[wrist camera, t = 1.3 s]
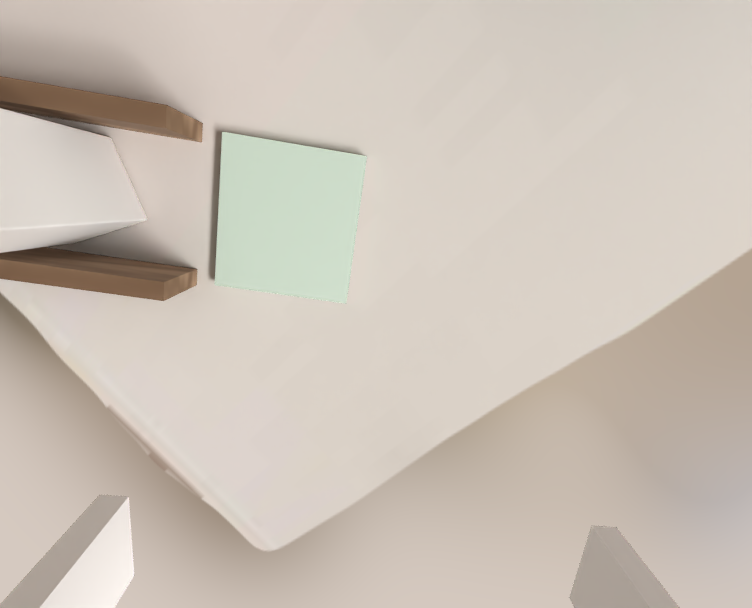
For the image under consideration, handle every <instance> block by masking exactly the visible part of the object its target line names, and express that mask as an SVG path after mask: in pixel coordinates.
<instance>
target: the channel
mask: <svg viewBox="0 0 752 608" xmlns="http://www.w3.org/2000/svg"><path fill="white" fill-rule="evenodd" d="M0 108H2V109H6V110H12V111H18V112H24V113H30V114H36V115H42V116H48V117H54V118H60V119H66V120H71V121H77V122H83V123H89V124H95V125H101V126H107V127H113V128H119V129H125V130H131V131H137V132H143V133H149V134H155V135H161V136H167V137H173V138H179V139H185V140H191V141H197V142H202V125H203V123H201V122H199V121H197V120H195V119H193V118H191V117H189V116H187V115H185V114H183V113H181V112H179V111H177V110H175V109H173V108H171V107H169V106H167V105H164V104H158V103H152V102H146V101H140V100H135V99H129V98H123V97H117V96H111V95H106V94H100V93H94V92H88V91H83V90H77V89H71V88H65V87H59V86H54V85H48V84H42V83H36V82H30V81H25V80H19V79H13V78H7V77H2V76H0ZM0 279H7V280H14V281H22V282H29V283H36V284H44V285H51V286H58V287H66V288H73V289H80V290H88V291H95V292H102V293H109V294H117V295H124V296H131V297H139V298H146V299H153V300H161V301H164V300H167V299H169V298H171V297H173V296H175V295H177V294H179V293H181V292H183V291H185V290H187V289H189V288H191V287H193V286H196V285H197V269H192V268H185V267H178V266H171V265H164V264H157V263H150V262H143V261H137V260H130V259H123V258H116V257H109V256H102V255H95V254H88V253H81V252H74V251H67V250H60V249H53V248H46V247H40V248H33V249H25V250H18V251H10V252H3V253H0Z"/></svg>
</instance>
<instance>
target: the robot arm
mask: <svg viewBox="0 0 752 608" xmlns="http://www.w3.org/2000/svg"><path fill="white" fill-rule="evenodd" d="M133 577H134V565H133V550H132V537H131V521H130V507H129V497H128V496H112V495H99V496H98V497H97V498H96V499H95V500H94V501H93V503H92V504H91V505H90V506H89V507H88V508H87V509H86V510H85V511H84V512H83V514H82V515H81V516H80V517H79V518H78V519H77V520H76V522H75V523H73V525H72V526H71V527H70V528H69V529H68V530H67V531H66V532H65V534H63V536H62V537H61V538H60V539H59V540H58V541H57V542H56V543H55V544H54V545H53V547H52V548H51V549H50V550H49V551H48V552H47V553H46V554H45V556H44V557H43V558H42V559H41V560H40V561H39V562H38V563H37V564H36V565H35V566H34V568H33V569H32V570H31V571H30V572H29V573H28V574H27V575H26V576H25V577H24V579H23V580H22V581H21V582H20V583H19V584H18V585H17V586H16V587H15V588H14V590H13V591H12V592H11V593H10V594H9V595H8V596H7V597H6V598H5V599H4V601H3V602H2V603H1V604H0V608H115V606H116V604H117V603H118V601H119V600H120V598H121V596H122V595H123V593H124V591H125V590H126V588H127V586H128V585H129V583H130V582H131V580H132V578H133ZM570 600H571V602H572V604H573V606H574V608H679V606H678V605H677V604H676V602H675V601H674V600H673V599H672V597H671V596H670V595H669V594H668V592H667V591H666V590H665V588H664V587H663V586H662V585H661V583H660V582H659V581H658V580H657V578H656V577H655V576H654V574H653V573H652V572H651V571H650V569H649V568H648V567H647V565H646V564H645V563H644V562H643V560H642V559H641V558H640V557H639V555H638V554H637V553H636V552H635V550H634V549H633V548H632V546H631V545H630V544H629V543H628V541H627V540H626V539H625V537H624V536H623V535H622V534H621V532H620V531H619V530H618V528H617V527H605V526H591V529H590V532H589V535H588V539H587V542H586V545H585V548H584V552H583V555H582V558H581V562H580V565H579V568H578V571H577V574H576V578H575V581H574V584H573V587H572V591H571V594H570Z"/></svg>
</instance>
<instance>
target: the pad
mask: <svg viewBox="0 0 752 608" xmlns="http://www.w3.org/2000/svg"><path fill="white" fill-rule="evenodd" d="M366 159H367V156H363V155H357V154H352V153H346V152H340V151H334V150H328V149H322V148H316V147H310V146H304V145H298V144H293V143H287V142H281V141H275V140H269V139H263V138H257V137H251V136H245V135H240V134H234V133H228V132H222V145H221V166H220V186H219V206H218V227H217V247H216V267H215V285H218V286H225V287H232V288H239V289H246V290H253V291H260V292H267V293H274V294H281V295H288V296H296V297H303V298H310V299H317V300H324V301H331V302H338V303H345V304H346V302H347V295H348V288H349V281H350V274H351V266H352V259H353V252H354V245H355V238H356V231H357V224H358V216H359V209H360V202H361V195H362V188H363V181H364V174H365V166H366Z"/></svg>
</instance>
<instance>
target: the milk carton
mask: <svg viewBox="0 0 752 608" xmlns="http://www.w3.org/2000/svg"><path fill="white" fill-rule="evenodd" d="M146 220H147V217H146V215H145V213H144V210H143V208H142V206H141V204H140V201H139V199H138V197H137V195H136V192H135V190H134V188H133V186H132V184H131V181H130V179H129V177H128V175H127V172H126V170H125V168H124V166H123V163H122V161H121V159H120V157H119V155H118V152H117V150H116V148H115V146H114V143H113V141H112V139H111V138H110V137H107V136H103V135H99V134H96V133H92V132H88V131H84V130H81V129H77V128H73V127H69V126H66V125H62V124H58V123H54V122H51V121H47V120H43V119H39V118H36V117H32V116H28V115H24V114H20V113H17V112H13V111H9V110H5V109H2V108H0V253H3V252H10V251H18V250H25V249H33V248H40V247H48V246H55V245H63V244H70V243H77V242H80V241H84V240H87V239H90V238H93V237H96V236H100V235H103V234H106V233H109V232H112V231H115V230H119V229H122V228H125V227H128V226H131V225H134V224H138V223H141V222H144V221H146Z"/></svg>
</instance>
